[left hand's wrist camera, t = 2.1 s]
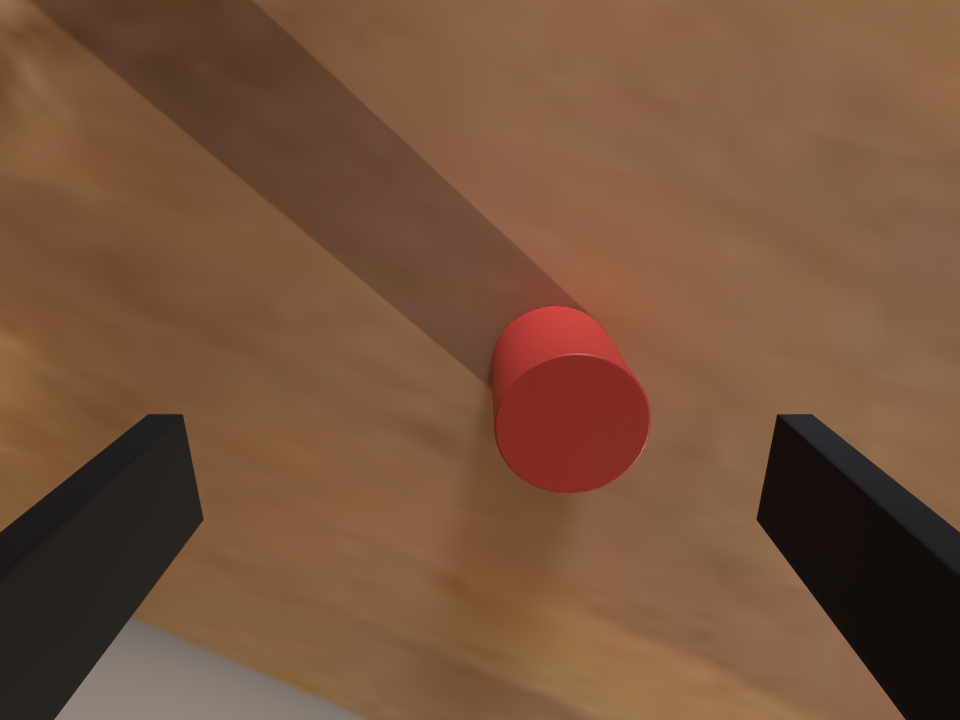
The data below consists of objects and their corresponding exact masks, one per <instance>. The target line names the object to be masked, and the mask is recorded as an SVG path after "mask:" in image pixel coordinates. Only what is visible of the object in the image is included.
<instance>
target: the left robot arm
mask: <svg viewBox="0 0 960 720" xmlns="http://www.w3.org/2000/svg"><path fill="white" fill-rule="evenodd" d="M202 521H203V515H202V510H201V505H200V500H199V494H198V489H197V484H196V479H195V474H194V469H193V464H192V459H191V454H190V449H189V444H188V439H187V433H186V428H185V423H184V418H183V414H148V415H147V416H145V417H144V418H143V419H142V420H140V421H139V422H138V423H137V424H135V425H134V426H133V427H132V428H130V429H129V430H128V431H127V432H125V433H124V434H123V435H122V436H120V437H119V438H118V439H117V440H115V441H114V442H113V443H112V444H110V445H109V446H108V447H107V448H105V449H104V450H103V451H102V452H100V453H99V454H98V455H97V456H95V457H94V458H93V459H92V460H90V461H89V462H88V463H87V464H85V465H84V466H83V467H82V468H80V469H79V470H78V471H77V472H75V473H74V474H73V475H72V476H70V477H69V478H68V479H67V480H65V481H64V482H63V483H62V484H60V485H59V486H58V487H57V488H55V489H54V490H53V491H52V492H50V493H49V494H48V495H47V496H45V497H44V498H43V499H42V500H40V501H39V502H38V503H36V504H35V505H34V506H33V507H31V508H30V509H29V510H28V511H26V512H25V513H24V514H23V515H21V516H20V517H19V518H18V519H16V520H15V521H14V522H13V523H11V524H10V525H9V526H8V527H6V528H5V529H4V530H3V531H1V532H0V720H54V719H55V718H56V716H57V715H58V714H59V712H60V711H61V710H62V708H63V707H64V706H65V704H66V703H67V702H68V700H69V699H70V698H71V696H72V695H73V694H74V692H75V691H76V690H77V688H78V687H79V686H80V684H81V683H82V682H83V680H84V679H85V678H86V676H87V675H88V674H89V672H90V671H91V670H92V668H93V667H94V666H95V664H96V663H97V662H98V660H99V659H100V658H101V656H102V655H103V654H104V652H105V651H106V650H107V648H108V647H109V646H110V644H111V643H112V641H113V640H114V639H115V638H116V636H117V635H118V633H119V632H120V631H121V629H122V628H123V627H124V625H125V624H126V623H127V621H128V620H129V619H130V617H131V616H132V615H133V613H134V612H135V611H136V609H137V608H138V607H139V605H140V604H141V603H142V601H143V600H144V599H145V597H146V596H147V595H148V593H149V592H150V591H151V589H152V588H153V587H154V585H155V584H156V583H157V581H158V580H159V579H160V577H161V576H162V575H163V573H164V572H165V571H166V569H167V568H168V567H169V565H170V564H171V563H172V561H173V560H174V558H175V557H176V556H177V554H178V553H179V552H180V550H181V549H182V548H183V546H184V545H185V544H186V542H187V541H188V540H189V538H190V537H191V536H192V534H193V533H194V532H195V530H196V529H197V528H198V526H199V525H200V524H201V522H202ZM757 521H758V522H759V524H760V525H761V526H762V528H763V529H764V530H765V532H766V533H767V534H768V536H769V537H770V538H771V540H772V541H773V542H774V544H775V545H776V546H777V548H778V549H779V550H780V552H781V553H782V554H783V556H784V557H785V558H786V560H787V561H788V563H789V564H790V565H791V567H792V568H793V569H794V571H795V572H796V573H797V575H798V576H799V577H800V579H801V580H802V581H803V583H804V584H805V585H806V587H807V588H808V589H809V591H810V592H811V593H812V595H813V596H814V597H815V599H816V600H817V601H818V603H819V604H820V605H821V607H822V608H823V609H824V611H825V612H826V613H827V615H828V616H829V617H830V619H831V620H832V621H833V623H834V624H835V625H836V627H837V628H838V629H839V631H840V632H841V633H842V635H843V636H844V638H845V639H846V640H847V642H848V643H849V644H850V646H851V647H852V648H853V650H854V651H855V652H856V654H857V655H858V656H859V658H860V659H861V660H862V662H863V663H864V664H865V666H866V667H867V668H868V670H869V671H870V672H871V674H872V675H873V676H874V678H875V679H876V680H877V682H878V683H879V684H880V686H881V687H882V688H883V690H884V691H885V692H886V694H887V695H888V696H889V698H890V699H891V700H892V702H893V703H894V704H895V706H896V707H897V708H898V710H899V711H900V713H901V714H902V715H903V717H904V718H905V719H906V720H960V532H959V531H957V530H956V529H955V528H954V527H952V526H951V525H950V524H949V523H947V522H946V521H945V520H944V519H942V518H941V517H940V516H939V515H937V514H936V513H935V512H934V511H932V510H931V509H930V508H929V507H927V506H926V505H925V504H924V503H922V502H921V501H920V500H918V499H917V498H916V497H915V496H913V495H912V494H911V493H910V492H908V491H907V490H906V489H905V488H903V487H902V486H901V485H900V484H898V483H897V482H896V481H895V480H893V479H892V478H891V477H890V476H888V475H887V474H886V473H885V472H883V471H882V470H881V469H880V468H878V467H877V466H876V465H875V464H873V463H872V462H871V461H870V460H868V459H867V458H866V457H865V456H863V455H862V454H861V453H860V452H858V451H857V450H856V449H855V448H853V447H852V446H851V445H850V444H848V443H847V442H846V441H845V440H843V439H842V438H841V437H840V436H838V435H837V434H836V433H835V432H833V431H832V430H831V429H830V428H828V427H827V426H826V425H825V424H823V423H822V422H821V421H820V420H818V419H817V418H816V417H815V416H813V415H812V414H777V418H776V423H775V428H774V433H773V439H772V444H771V449H770V454H769V459H768V464H767V469H766V474H765V479H764V484H763V489H762V494H761V500H760V505H759V510H758V515H757Z"/></svg>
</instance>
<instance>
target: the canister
mask: <svg viewBox="0 0 960 720" xmlns="http://www.w3.org/2000/svg"><path fill="white" fill-rule="evenodd" d="M492 388H493V411H494V431H495V439H496V443H497V446H498V449H499V451H500V454H501V456H502V457H503V459H504V461H505V462H506V463H507V465H508V466H509V467H510V469H511V470H513V471H514V472H515V473H516V474H517V475H518V476H519V477H521V478H522V479H523V480H525V481H526V482H528V483H530V484H532V485H534V486H536V487H538V488H541V489H544V490H548V491H552V492H558V493H579V492H585V491H590V490H593V489H597V488H599V487H602V486H604V485H607V484H609V483H610V482H612V481H614V480H616V479H617V478H618V477H620V476H621V475H623V474H624V473H625V472H626V471H627V470H628V469H629V468H630V467H631V466H632V465H633V464H634V463H635V462H636V460H637V459H638V457H639V456H640V454H641V453H642V451H643V449H644V447H645V445H646V442H647V439H648V436H649V432H650V426H651V413H650V406H649V402H648V399H647V396H646V394H645V392H644V390H643V388H642V387H641V385H640V383H639V382H638V380H637V379H636V377H635V376H634V374H633V373H632V371H631V370H630V368H629V366H628V365H627V363H626V362H625V360H624V359H623V357H622V356H621V354H620V353H619V351H618V350H617V348H616V347H615V345H614V344H613V342H612V340H611V339H610V337H609V336H608V334H607V333H606V331H605V330H604V328H603V327H602V326H601V325H600V324H599V323H598V322H597V321H596V320H595V319H594V318H592V317H591V316H589V315H587V314H586V313H584V312H582V311H579V310H576V309H573V308H569V307H564V306H549V307H543V308H538V309H535V310H532V311H529V312H527V313H525V314H523V315H522V316H520V317H519V318H517V319H516V320H514V321H513V322H512V323H511V324H510V325H509V326H508V327H507V328H506V329H505V330H504V332H503V333H502V334H501V336H500V337H499V339H498V341H497V343H496V346H495V349H494V352H493V356H492Z"/></svg>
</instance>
